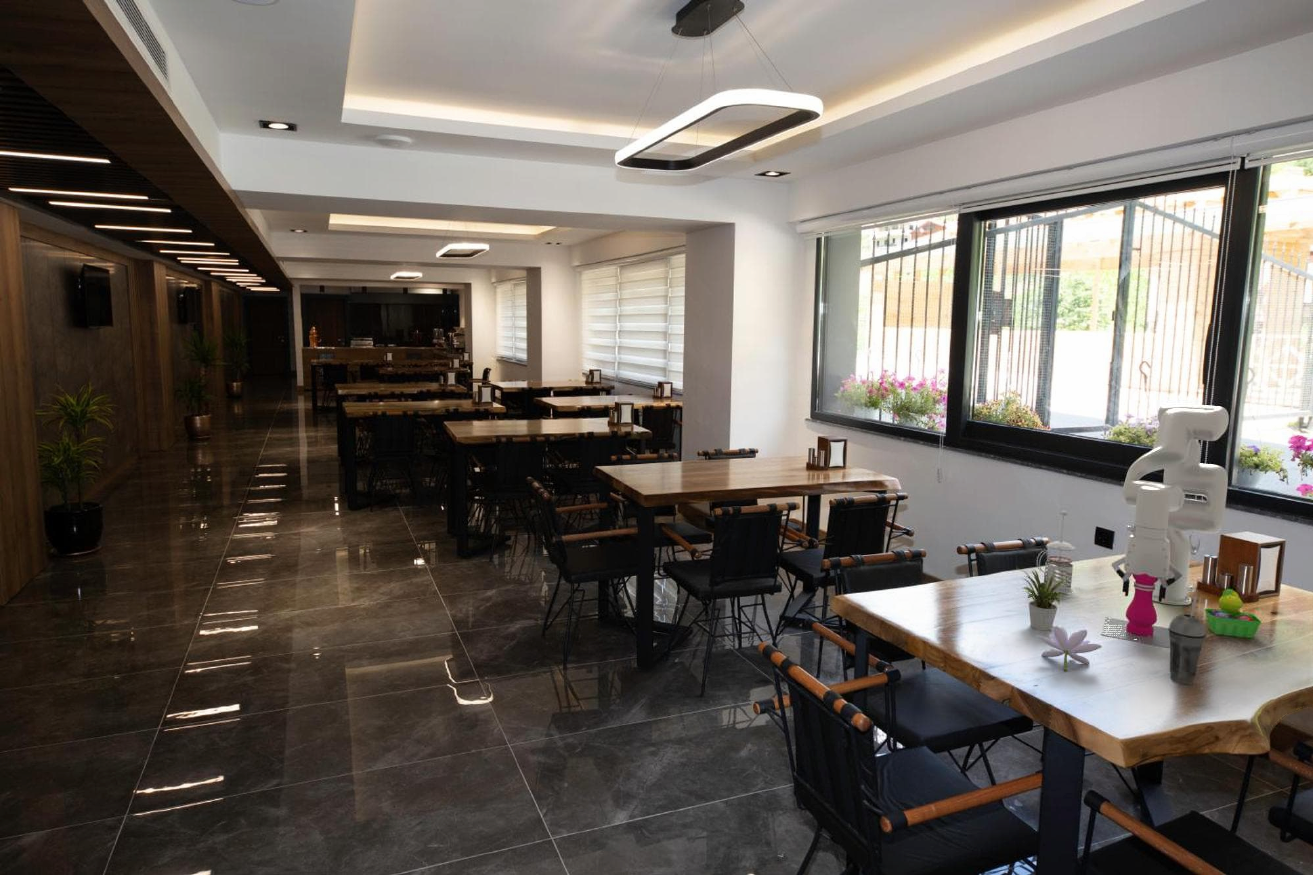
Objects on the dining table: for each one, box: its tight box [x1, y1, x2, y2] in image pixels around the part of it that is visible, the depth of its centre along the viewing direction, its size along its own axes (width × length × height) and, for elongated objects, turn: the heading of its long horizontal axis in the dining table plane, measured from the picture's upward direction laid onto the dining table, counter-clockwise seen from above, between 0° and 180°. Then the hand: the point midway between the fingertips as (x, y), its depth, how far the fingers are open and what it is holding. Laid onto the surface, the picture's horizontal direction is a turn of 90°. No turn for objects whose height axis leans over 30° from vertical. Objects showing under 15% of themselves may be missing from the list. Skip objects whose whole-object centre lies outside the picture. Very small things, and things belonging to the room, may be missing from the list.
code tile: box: [1100, 616, 1170, 649], centre depth 217 cm, size 17×17×1 cm
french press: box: [1036, 510, 1076, 594], centre depth 253 cm, size 10×12×25 cm
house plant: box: [1016, 567, 1071, 631], centre depth 219 cm, size 14×14×16 cm
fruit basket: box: [1204, 588, 1262, 639], centre depth 219 cm, size 11×9×11 cm
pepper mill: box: [1125, 574, 1158, 636], centre depth 216 cm, size 7×7×20 cm
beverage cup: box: [1168, 595, 1207, 685], centre depth 185 cm, size 7×7×20 cm
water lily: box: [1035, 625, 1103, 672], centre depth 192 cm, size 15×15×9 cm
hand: (1143, 597), depth 216 cm, fingers open, 7 cm apart
